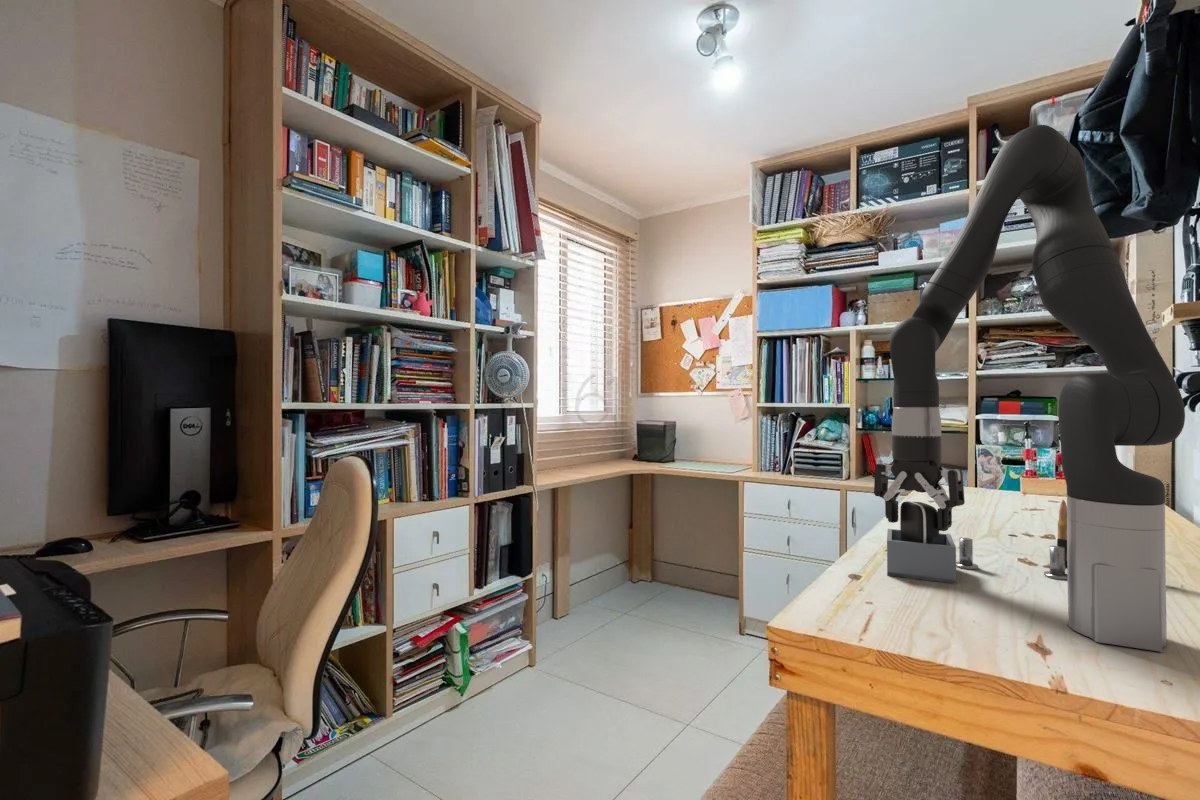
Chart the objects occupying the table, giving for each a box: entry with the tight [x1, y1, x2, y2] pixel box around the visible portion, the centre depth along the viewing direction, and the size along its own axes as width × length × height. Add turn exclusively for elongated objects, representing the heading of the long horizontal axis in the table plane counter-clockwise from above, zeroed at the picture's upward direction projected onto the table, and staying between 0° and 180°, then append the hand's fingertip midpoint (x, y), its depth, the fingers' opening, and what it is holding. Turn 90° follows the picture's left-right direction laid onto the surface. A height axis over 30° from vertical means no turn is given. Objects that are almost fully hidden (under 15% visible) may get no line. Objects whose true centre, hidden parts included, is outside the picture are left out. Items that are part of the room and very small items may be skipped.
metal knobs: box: [956, 537, 1068, 581], centre depth 97 cm, size 4×17×5 cm, turn 62°
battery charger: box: [899, 500, 940, 544], centre depth 98 cm, size 7×4×11 cm, turn 177°
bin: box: [886, 528, 957, 584], centre depth 98 cm, size 10×10×6 cm
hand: (917, 526), depth 97 cm, fingers open, 8 cm apart
